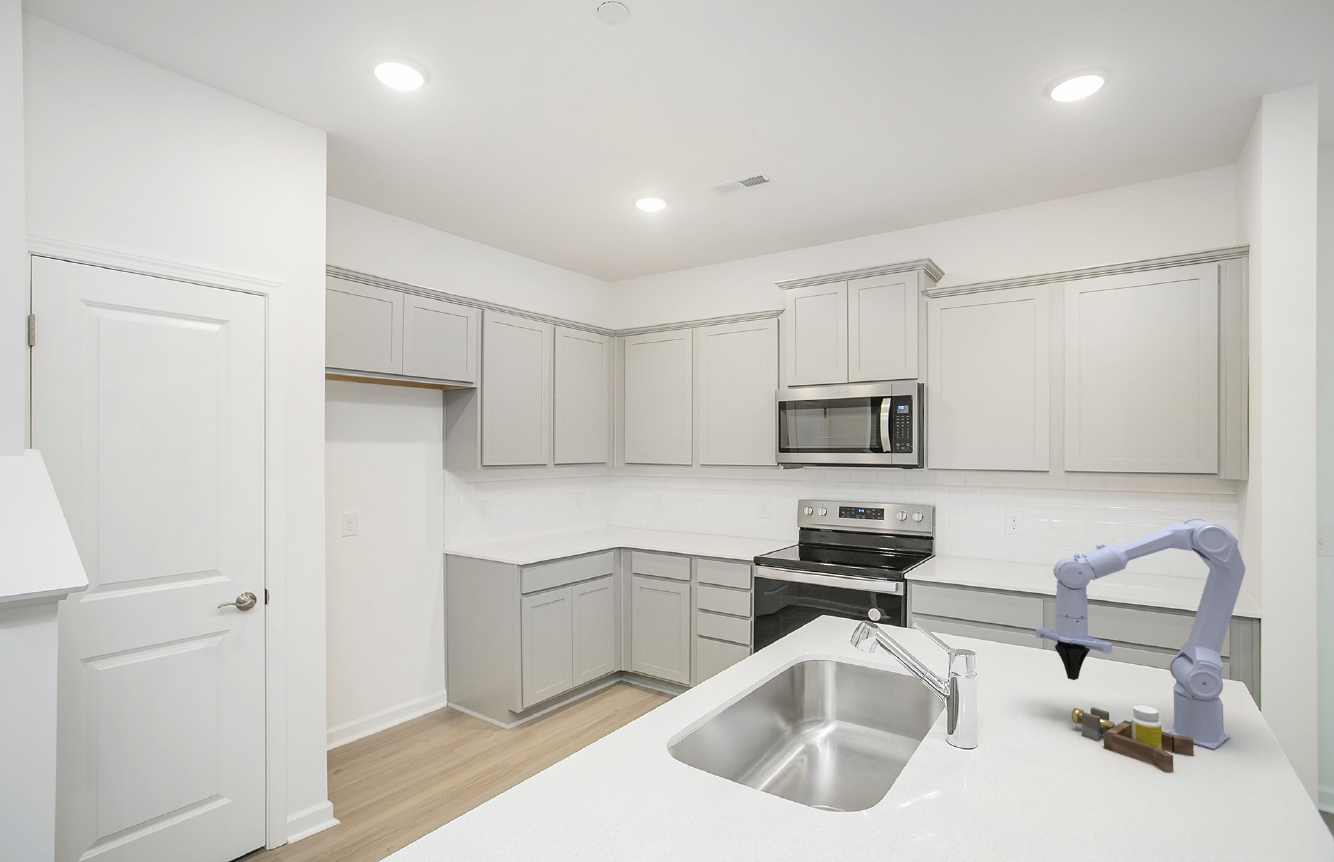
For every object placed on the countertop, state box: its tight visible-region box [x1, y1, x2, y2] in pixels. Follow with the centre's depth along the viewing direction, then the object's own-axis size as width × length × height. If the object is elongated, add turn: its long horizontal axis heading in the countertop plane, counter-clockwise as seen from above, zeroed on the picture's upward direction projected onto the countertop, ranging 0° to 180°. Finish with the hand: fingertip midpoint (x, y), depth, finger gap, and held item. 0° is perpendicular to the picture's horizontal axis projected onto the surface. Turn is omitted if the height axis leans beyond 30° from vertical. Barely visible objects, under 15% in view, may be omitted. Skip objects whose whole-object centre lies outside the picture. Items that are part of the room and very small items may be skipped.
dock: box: [1081, 707, 1195, 773], centre depth 131 cm, size 13×16×5 cm
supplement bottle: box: [1130, 704, 1162, 749], centre depth 129 cm, size 5×5×8 cm
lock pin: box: [1071, 707, 1116, 730], centre depth 137 cm, size 3×7×3 cm, turn 35°
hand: (1073, 678), depth 143 cm, fingers closed
